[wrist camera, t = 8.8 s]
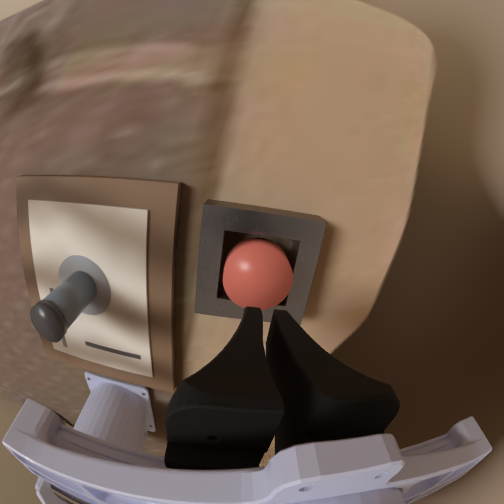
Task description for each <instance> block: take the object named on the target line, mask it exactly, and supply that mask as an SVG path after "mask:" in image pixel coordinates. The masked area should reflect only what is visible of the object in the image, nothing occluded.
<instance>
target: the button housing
mask: <svg viewBox="0 0 504 504" xmlns="http://www.w3.org/2000/svg"><path fill="white" fill-rule="evenodd" d="M326 223H327V222H325V221H324V220H323V219H322V218H321V217H319V216H316V215H311V214H305V213H299V212H293V211H286V210H280V209H274V208H267V207H260V206H254V205H247V204H239V203H232V202H225V201H217V200H209V199H208V200H207V201H206V202H205V203H204V207H203V216H202V225H201V235H200V246H199V257H198V269H197V282H196V297H195V313H199V314H206V315H213V316H221V317H229V318H237V319H242V318H243V313H244V308H242V307H240V306H238V305H237V304H235V303H234V302H233V301H232V300H231V299H230V298H229V297H228V295H227V294H226V292H225V289H224V286H219V278H220V270H221V261H222V253H223V245H224V237H225V230H227V231H234V232H242V233H249V234H256V235H263V236H270V237H277V238H284V239H291V240H293V245H292V250H291V255H290V260H289V264H290V266H291V269H292V273H293V283H292V287H291V290H290V292H289V293H288V295H287V296H286V298H285V299H284V300H283V301H282V302H280V303H279V304H278V305H276V306H274V307H272V308H269V309H265V310H261V311H262V314H263V321H265V322H271V319H272V315H273V310H274V309H277V310H287V311H288V312H289V314H290V315H291V316H292V317H293V318H294V319H295V321H296V322H297V323H298V324H299V325H301V321H302V318H303V314H304V311H305V307H306V304H307V300H308V296H309V293H310V289H311V285H312V281H313V277H314V274H315V270H316V266H317V262H318V258H319V253H320V249H321V245H322V241H323V236H324V232H325V228H326Z"/></svg>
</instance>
